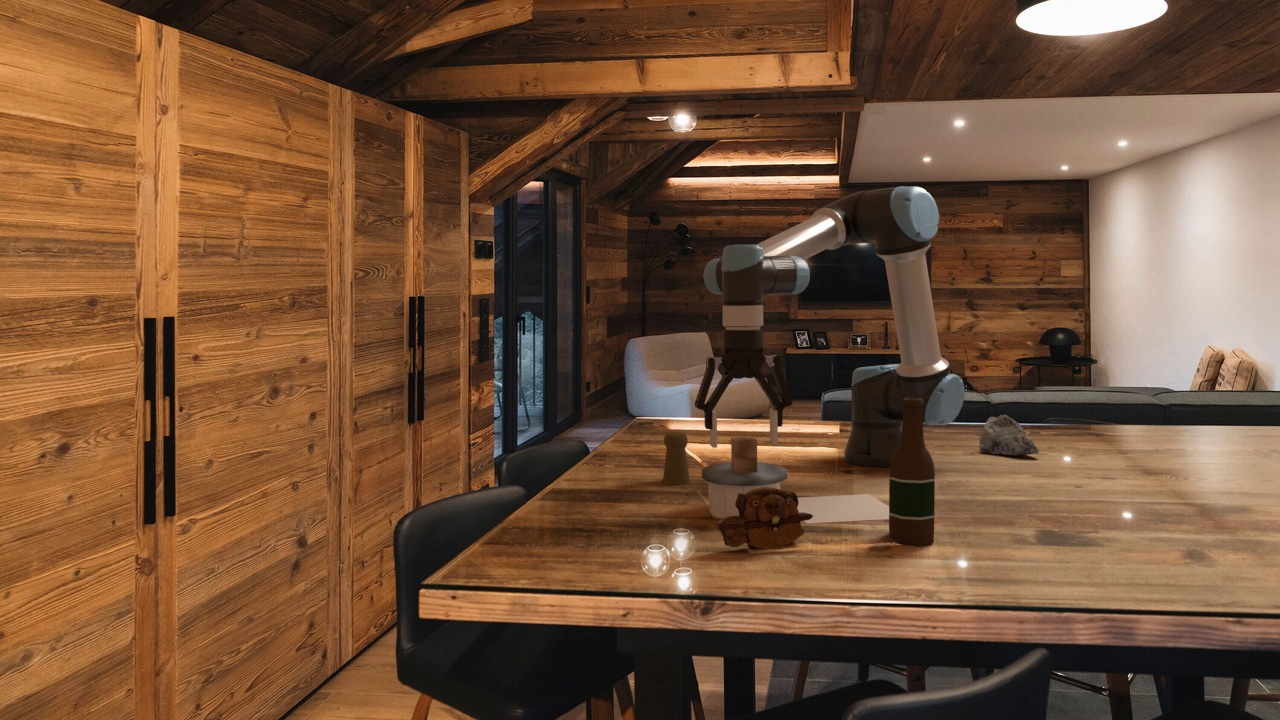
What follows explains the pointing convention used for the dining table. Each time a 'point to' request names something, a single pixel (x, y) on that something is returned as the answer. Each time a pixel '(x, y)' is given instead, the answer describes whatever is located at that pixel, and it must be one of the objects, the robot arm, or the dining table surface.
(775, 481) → the lid
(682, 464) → the cork
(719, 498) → the bowl
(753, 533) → the wooden carving
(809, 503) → the mat
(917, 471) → the beer bottle
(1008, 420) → the mineral rock
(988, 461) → the dining table surface
